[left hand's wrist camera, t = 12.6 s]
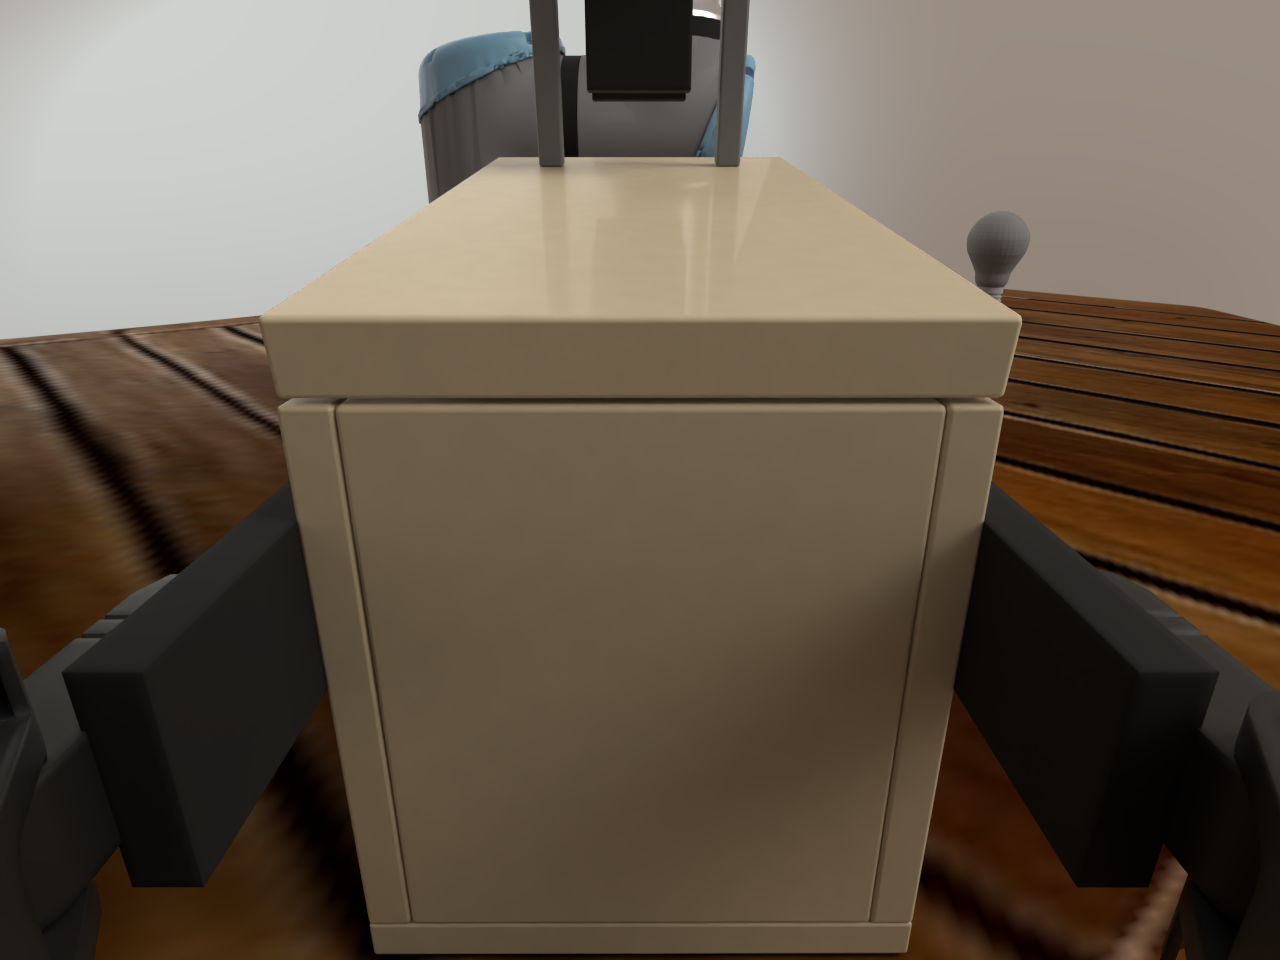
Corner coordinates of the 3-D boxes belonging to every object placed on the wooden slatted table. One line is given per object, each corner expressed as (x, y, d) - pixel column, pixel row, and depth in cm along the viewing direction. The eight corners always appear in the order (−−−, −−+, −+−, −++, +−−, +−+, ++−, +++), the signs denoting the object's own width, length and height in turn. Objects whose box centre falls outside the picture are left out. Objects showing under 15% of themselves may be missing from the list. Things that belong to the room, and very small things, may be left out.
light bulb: (968, 313, 79) (984, 211, 75) (949, 304, 85) (963, 210, 81) (1026, 313, 79) (1045, 212, 75) (1003, 305, 84) (1020, 210, 81)
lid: (500, 192, 25) (472, -132, 21) (778, 192, 25) (806, -132, 21) (275, 401, 10) (-3, -690, 5) (1005, 400, 10) (1281, -687, 5)
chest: (518, 538, 29) (500, 271, 25) (761, 538, 29) (778, 271, 25) (374, 955, 13) (273, 407, 9) (908, 955, 13) (1007, 405, 9)
